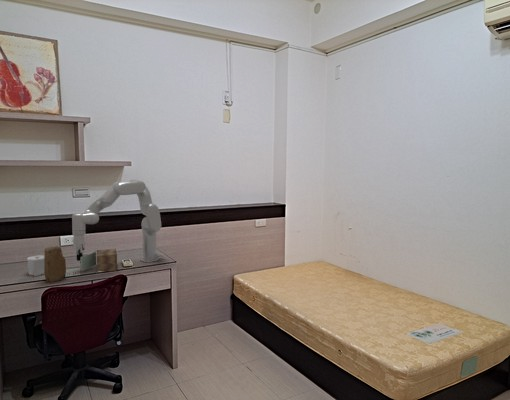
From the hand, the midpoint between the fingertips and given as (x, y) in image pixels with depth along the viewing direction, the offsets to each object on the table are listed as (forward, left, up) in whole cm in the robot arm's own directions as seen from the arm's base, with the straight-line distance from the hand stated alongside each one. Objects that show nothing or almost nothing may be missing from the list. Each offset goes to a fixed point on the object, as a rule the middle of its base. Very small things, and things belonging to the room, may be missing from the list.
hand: (79, 260), depth 241 cm
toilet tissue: (+24, -3, -7) cm, 25 cm away
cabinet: (-16, -1, -7) cm, 18 cm away
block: (+13, +13, -7) cm, 20 cm away
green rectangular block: (-5, -3, -6) cm, 8 cm away
